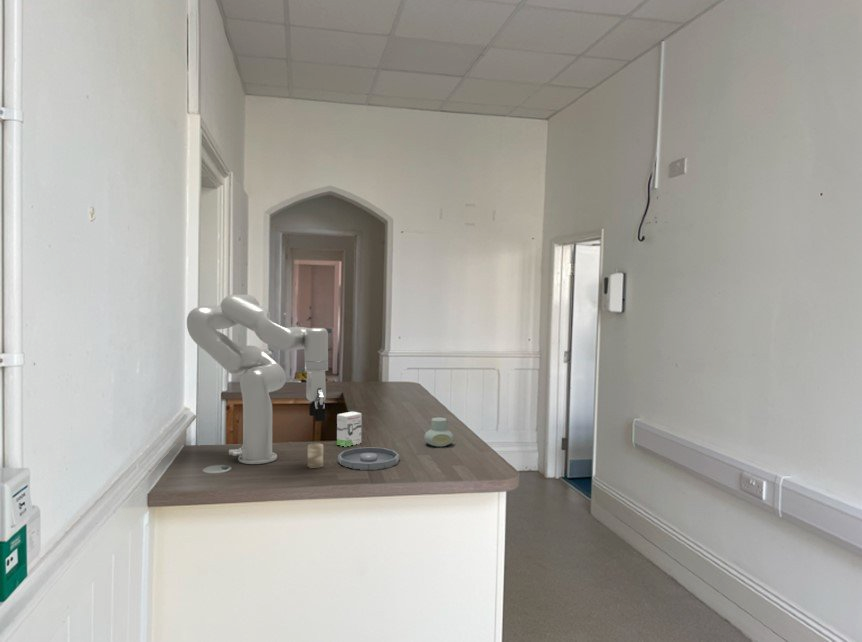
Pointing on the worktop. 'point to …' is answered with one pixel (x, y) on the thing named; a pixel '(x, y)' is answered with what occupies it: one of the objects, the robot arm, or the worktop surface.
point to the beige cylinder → (315, 455)
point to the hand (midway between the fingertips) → (317, 418)
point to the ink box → (349, 428)
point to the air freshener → (438, 433)
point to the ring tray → (368, 458)
